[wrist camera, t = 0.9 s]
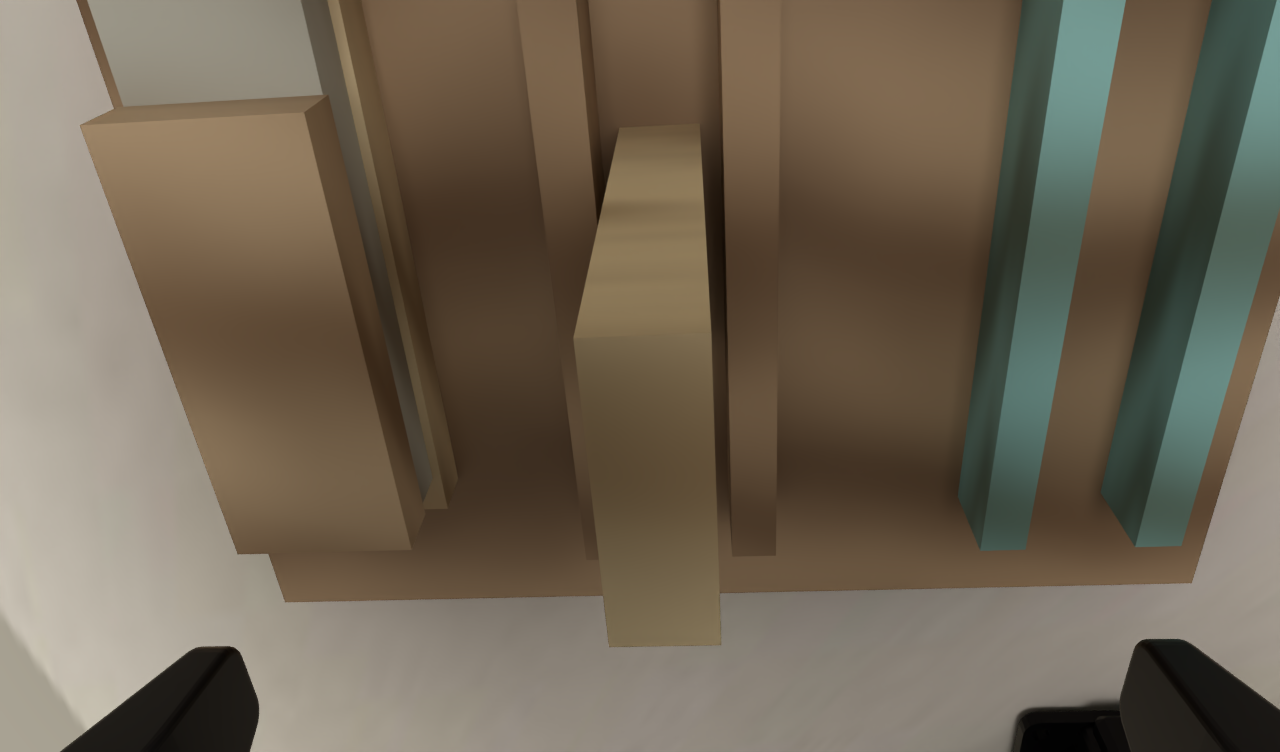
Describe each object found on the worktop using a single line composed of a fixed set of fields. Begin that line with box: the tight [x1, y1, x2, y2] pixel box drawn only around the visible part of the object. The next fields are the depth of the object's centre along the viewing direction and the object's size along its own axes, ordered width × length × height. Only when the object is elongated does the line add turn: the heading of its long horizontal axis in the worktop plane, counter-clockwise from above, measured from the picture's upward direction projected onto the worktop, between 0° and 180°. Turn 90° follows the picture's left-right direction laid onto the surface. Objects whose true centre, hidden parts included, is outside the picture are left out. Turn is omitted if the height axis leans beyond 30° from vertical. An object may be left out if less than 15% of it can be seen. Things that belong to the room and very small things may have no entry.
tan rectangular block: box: [573, 123, 721, 647], centre depth 16 cm, size 5×2×9 cm, turn 4°
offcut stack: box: [80, 0, 458, 554], centre depth 19 cm, size 12×4×4 cm, turn 4°
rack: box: [76, 0, 1280, 602], centre depth 19 cm, size 20×24×3 cm
